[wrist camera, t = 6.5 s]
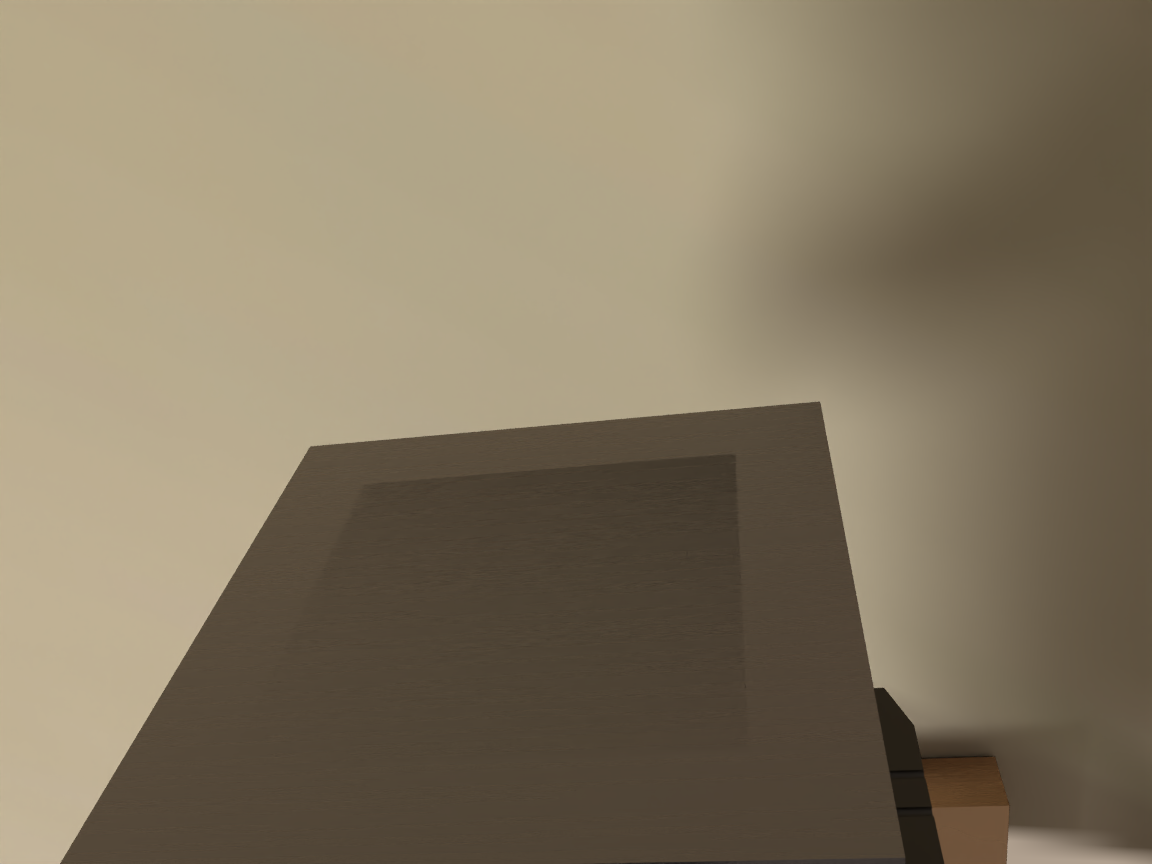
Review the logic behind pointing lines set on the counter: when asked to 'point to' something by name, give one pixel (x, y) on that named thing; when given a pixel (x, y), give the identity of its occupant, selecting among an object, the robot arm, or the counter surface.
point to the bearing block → (968, 809)
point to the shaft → (527, 662)
